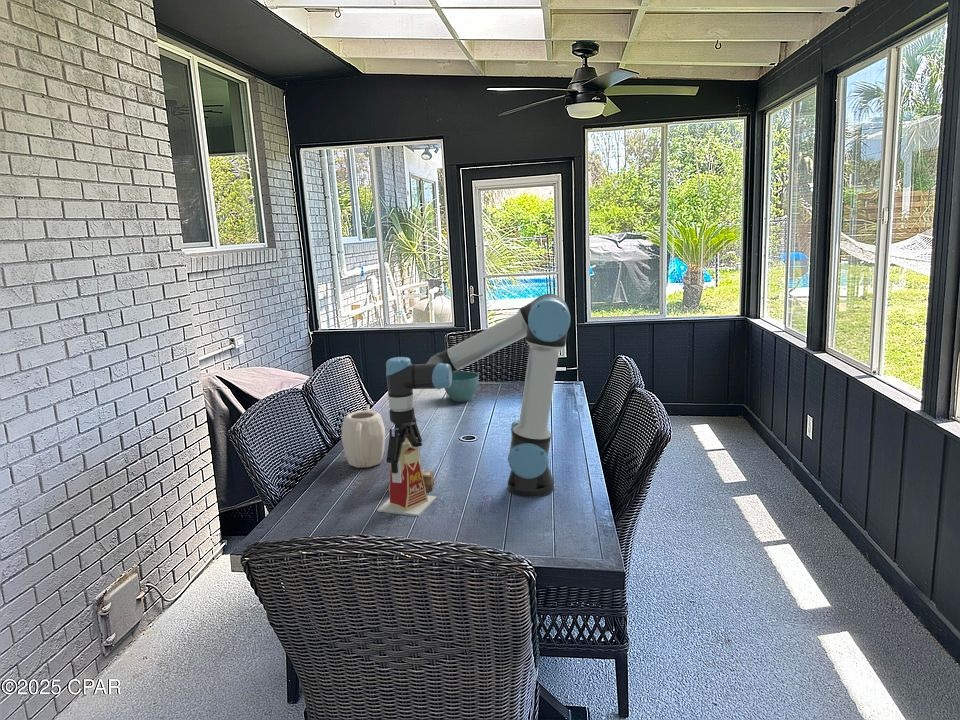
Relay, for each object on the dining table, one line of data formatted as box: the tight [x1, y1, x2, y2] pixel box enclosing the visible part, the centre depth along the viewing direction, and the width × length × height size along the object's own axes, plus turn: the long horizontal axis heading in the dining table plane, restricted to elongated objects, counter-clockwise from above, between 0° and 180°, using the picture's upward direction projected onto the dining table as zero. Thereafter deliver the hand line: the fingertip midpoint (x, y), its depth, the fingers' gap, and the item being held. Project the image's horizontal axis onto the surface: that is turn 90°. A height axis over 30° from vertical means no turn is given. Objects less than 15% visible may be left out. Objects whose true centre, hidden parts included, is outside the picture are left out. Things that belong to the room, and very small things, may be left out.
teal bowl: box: [444, 371, 480, 403], centre depth 330 cm, size 18×18×12 cm
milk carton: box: [389, 443, 428, 511], centre depth 208 cm, size 9×9×20 cm
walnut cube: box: [422, 470, 435, 492], centre depth 223 cm, size 5×5×5 cm
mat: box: [376, 494, 438, 517], centre depth 210 cm, size 14×14×1 cm
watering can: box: [340, 404, 386, 469], centre depth 247 cm, size 16×27×19 cm, turn 1°
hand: (406, 474), depth 208 cm, fingers open, 13 cm apart
